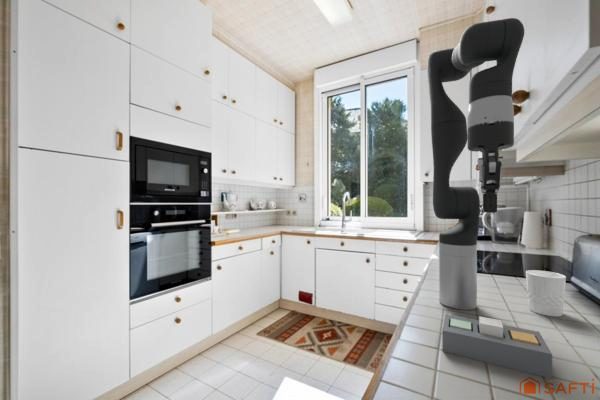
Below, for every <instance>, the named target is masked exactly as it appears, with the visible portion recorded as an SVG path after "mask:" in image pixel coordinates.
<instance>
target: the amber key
mask: <svg viewBox="0 0 600 400" xmlns="http://www.w3.org/2000/svg"><path fill="white" fill-rule="evenodd" d="M510 338H511V340H515V341H519V342H524V343H529V344H534V345H539V343H538V341H537V339H536V337H535V335H533V334H528V333H523V332H518V331H513V330H510Z"/></svg>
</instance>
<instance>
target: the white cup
mask: <svg viewBox="0 0 600 400" xmlns="http://www.w3.org/2000/svg"><path fill="white" fill-rule="evenodd" d="M566 279H567V276H566V275H564V274H562V273H558V272H553V271H548V270H536V269H530V270H529V269H528V270H526V271H525V280H526V281H525V282H526V294H527V300H528V301H527V303H528V309H529V310H530V311H532V312H533V313H535V314H539V315H542V316H547V317H562V316H564V305H565V297H566Z"/></svg>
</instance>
